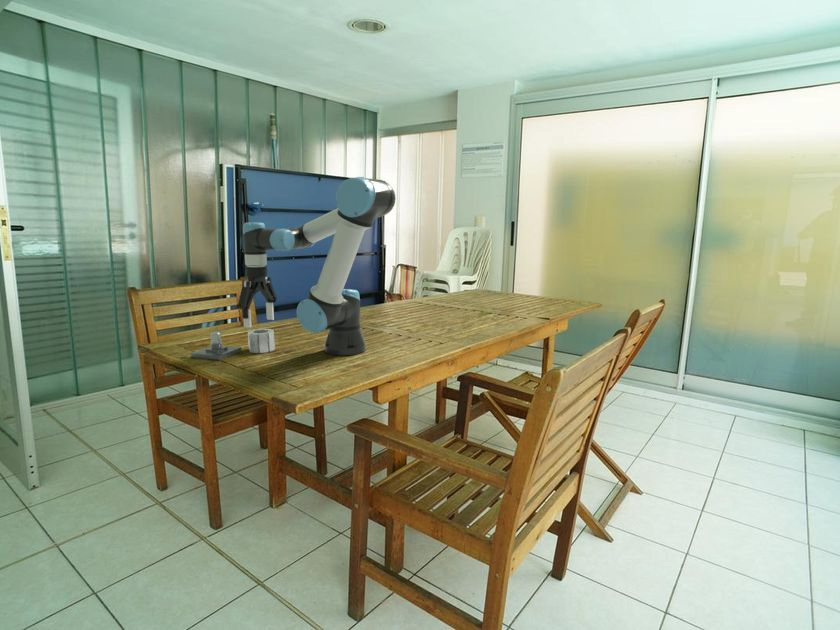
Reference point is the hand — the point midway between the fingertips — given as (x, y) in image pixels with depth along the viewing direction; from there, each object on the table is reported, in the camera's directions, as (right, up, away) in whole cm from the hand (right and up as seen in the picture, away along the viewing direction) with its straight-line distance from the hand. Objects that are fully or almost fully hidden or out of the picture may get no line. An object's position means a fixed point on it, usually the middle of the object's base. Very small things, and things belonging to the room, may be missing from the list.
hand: (259, 323), depth 183 cm
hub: (0, -10, +2) cm, 10 cm away
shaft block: (-14, -11, -4) cm, 18 cm away
